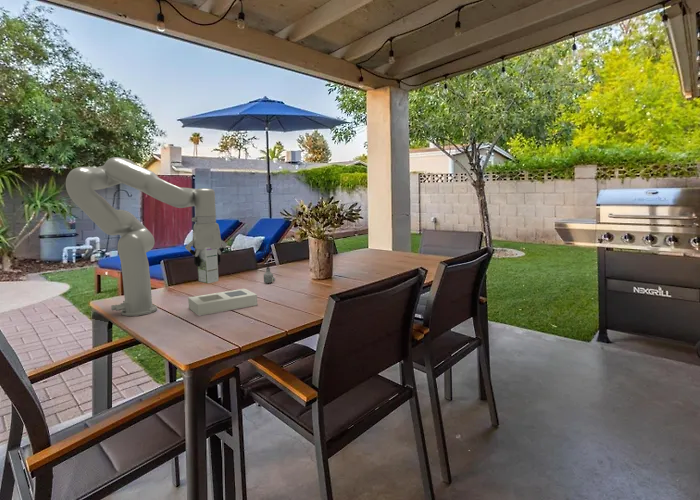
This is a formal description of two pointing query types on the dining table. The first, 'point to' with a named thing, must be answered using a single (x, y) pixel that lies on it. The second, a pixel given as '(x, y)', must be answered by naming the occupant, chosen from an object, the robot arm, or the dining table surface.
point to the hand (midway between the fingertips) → (207, 264)
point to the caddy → (222, 301)
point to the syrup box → (208, 265)
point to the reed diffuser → (267, 269)
